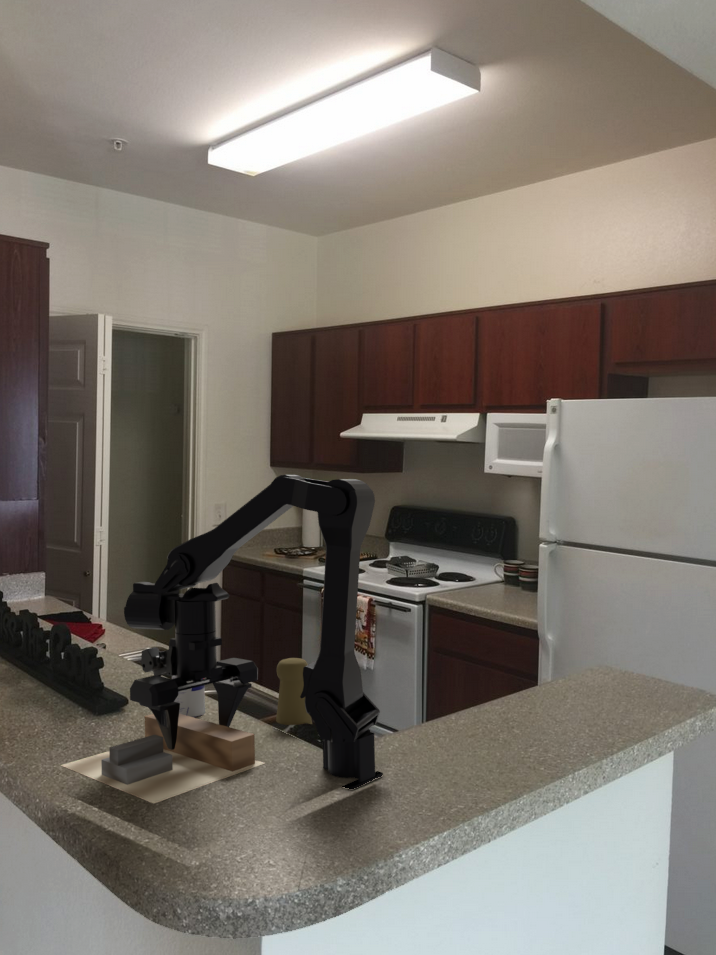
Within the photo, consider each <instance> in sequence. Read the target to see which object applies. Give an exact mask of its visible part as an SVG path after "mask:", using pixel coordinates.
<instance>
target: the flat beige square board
mask: <svg viewBox="0 0 716 955" xmlns="http://www.w3.org/2000/svg"><path fill="white" fill-rule="evenodd" d="M265 764H266V762H263V761H260V760H256V759H255V764H252V765H250V766H247V767H244V768H241V769H238V770H236V771H233V772H232V771H229V770H226V769H223V768H220V767H217V766H214V765H211V764H208V763H205V762H202V761H198V760H195V759H192V758H189V757H186V756H183V755H180V754H177V753H174V752H171V751H168V750H165V749H163V737H161V736H158V735H155V734H154V735H151V736H147V737H145V736H144V737H141V738H137V739H134V740H129V741H126V742H124V743H123V742H122V743H121V744H117V745H113V746H110V747H109V749H108V751H105V752H102V753H97V754H94V755H91V756H87V757H84V758H81V759H78V760H75V761H74V760H73V761H71V762H66V763H63V764H61V765H60V767H64V768H65V769H68V770H71V771H72V772H75V773H77V774H80V775H82V776H85V777H88V778H90V779H93V780H95V781H97V782H100V783H102V784H105V785H107V786H110V787H112V788H114V789H117V790H120V791H122V792H124V793H126V794H129V795H132V796H133V797H137V798H139V799H142V800H144V801H146V802H149V803H150V804H157V803H160V802H162V801H165V800H167V799H171V798H173V797H178V796H180V795H182V794H184V793H189V792H191V791H193V790H195V789H199V788H201V787H204V786H207V785H210V784H212V783H215V782H217V781H222V780H224V779H226V778H229V777H232V776H235V775H238V774H239V773H243V772H246V771H248V770H251V769H254V768H257V767H259V766H263V765H265Z"/></svg>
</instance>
